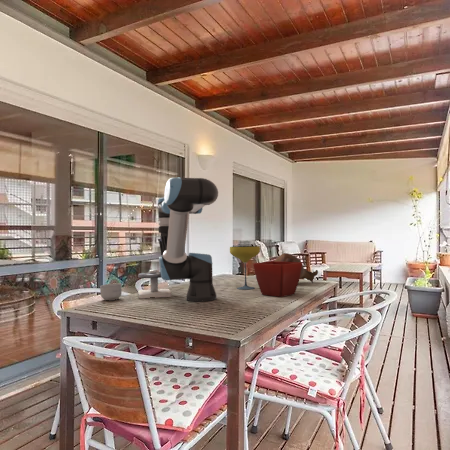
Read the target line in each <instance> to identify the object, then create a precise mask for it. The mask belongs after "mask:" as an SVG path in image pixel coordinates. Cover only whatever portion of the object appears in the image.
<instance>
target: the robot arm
mask: <svg viewBox="0 0 450 450" xmlns="http://www.w3.org/2000/svg"><path fill="white" fill-rule="evenodd" d="M218 197H219V189H218V187H217V185H216V184H215V183H214V182H212V181H211V180H210V179H207V178H203V177H180V176H179V177H170V178H169V179H168V180H167V181H166V182H165V187H164V195H163V197H160V198H158V199H157V212H158V214H157V215H158V217H157V219H158V220H157V221H158V233H159V234H160V238H158V239H157V241H158V244H159V250H160V251H159V252H160V255H161V256H159V257H158V266H159V272H160V273H161V279H162V280H163V281H174V280H175V281H179V280H188V281H189V285H188V288H187V292H186V296H185V297H186V299H185V300H186V301H189V302H209V301H215V300H217V292H216V289H215V287H214V286H215V285H214V283H213V257H212V256H211V255H210V254H207V253H206V254H205V253H199V252H196V253H195V252H189V253H188V255H187V253H186V252H185V249H186V241H187V233H188V225H189V217H190V214H191V215H196V214H201V213H202V212H203V208H204V207H206V206H209V205H212V204H214V203H215V202H217V201H216V200H218Z"/></svg>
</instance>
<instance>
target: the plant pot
mask: <svg viewBox="0 0 450 450" xmlns="http://www.w3.org/2000/svg"><path fill="white" fill-rule="evenodd" d="M302 264H303V262H302V261H301V262H280V261H275V260H272V261H264V262H262V261H261V262H254V263H253V270H254V273H255V274H254V276H255V279H256V282H257V284H258V287H259V290H260V292H261V295H263V296H271V297H279V298H282V297H287V296H293V295H295V294H296V291H297V289H298V288H297V287H298V284H299V282H300V279H299V278H300V274H301V268H302Z"/></svg>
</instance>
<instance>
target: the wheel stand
mask: <svg viewBox="0 0 450 450" xmlns="http://www.w3.org/2000/svg"><path fill="white" fill-rule="evenodd" d="M149 279H150V289H143V290H142V289H141V290H138V294H139V295H138V299H151V298H150V297H155V298H167V297H168V298H172V291H171V290H170V289H169V288H160V289H159V278H149Z"/></svg>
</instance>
